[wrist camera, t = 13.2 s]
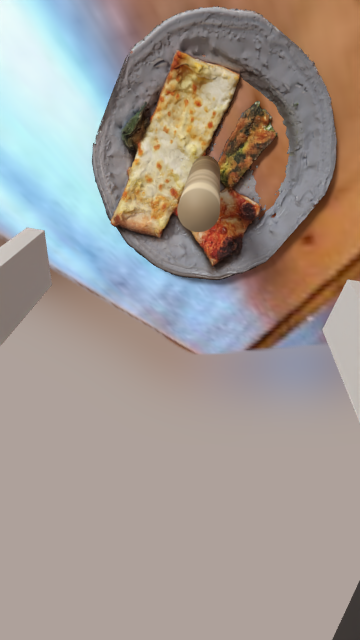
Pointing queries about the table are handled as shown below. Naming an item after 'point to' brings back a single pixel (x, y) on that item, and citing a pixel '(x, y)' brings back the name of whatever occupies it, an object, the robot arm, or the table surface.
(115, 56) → the table surface
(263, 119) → the food plate
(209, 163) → the pestle
